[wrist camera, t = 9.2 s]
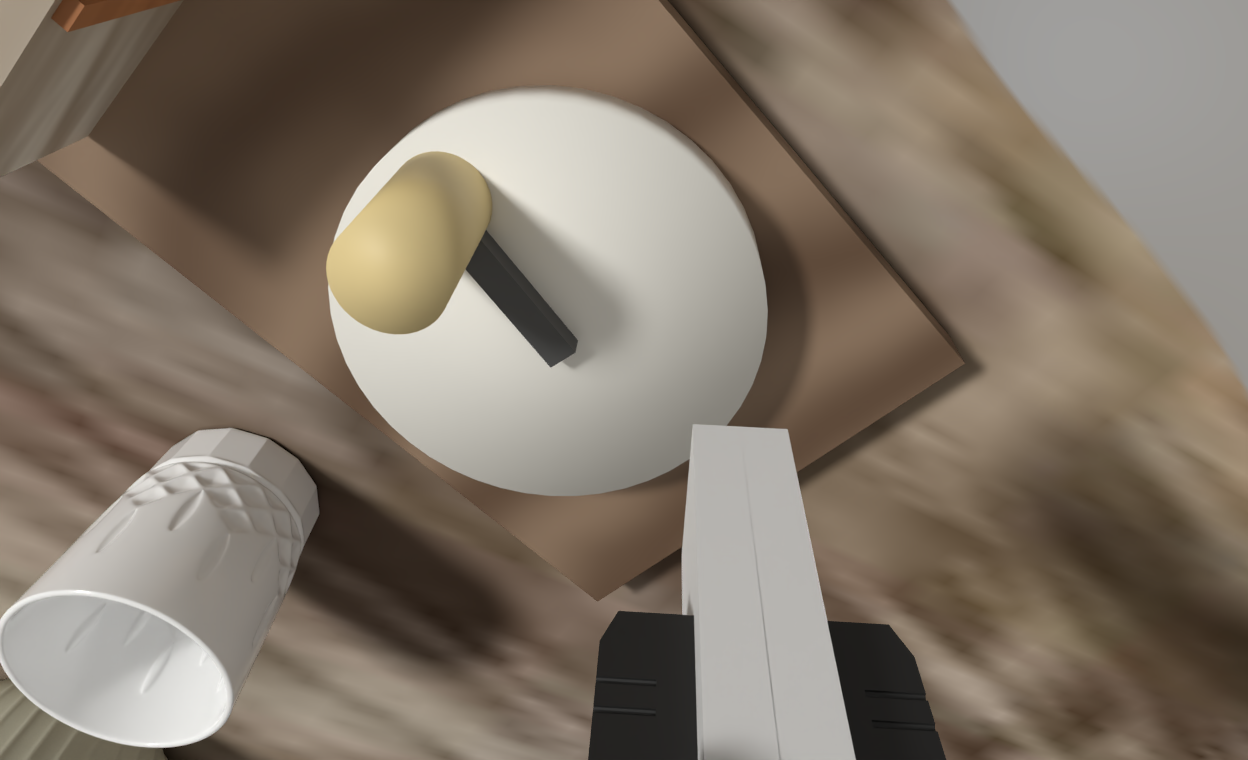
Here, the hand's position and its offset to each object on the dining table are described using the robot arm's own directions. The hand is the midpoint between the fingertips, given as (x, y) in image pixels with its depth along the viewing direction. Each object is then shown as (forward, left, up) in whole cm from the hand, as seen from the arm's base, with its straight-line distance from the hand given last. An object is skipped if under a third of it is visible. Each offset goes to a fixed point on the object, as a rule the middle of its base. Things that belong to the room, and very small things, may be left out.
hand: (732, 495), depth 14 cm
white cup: (-15, +19, -17) cm, 30 cm away
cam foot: (-4, +5, -15) cm, 16 cm away
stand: (-3, +6, -17) cm, 19 cm away
